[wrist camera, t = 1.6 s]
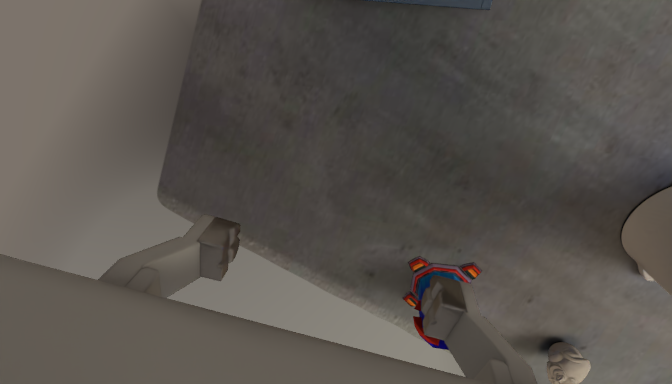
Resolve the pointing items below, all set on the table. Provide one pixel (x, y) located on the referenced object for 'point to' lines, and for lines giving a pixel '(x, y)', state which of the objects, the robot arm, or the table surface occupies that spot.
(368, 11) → the table surface
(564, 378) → the frog figurine
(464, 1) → the square frame
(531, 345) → the table surface
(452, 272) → the fantasy tower
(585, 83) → the table surface
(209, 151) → the table surface
